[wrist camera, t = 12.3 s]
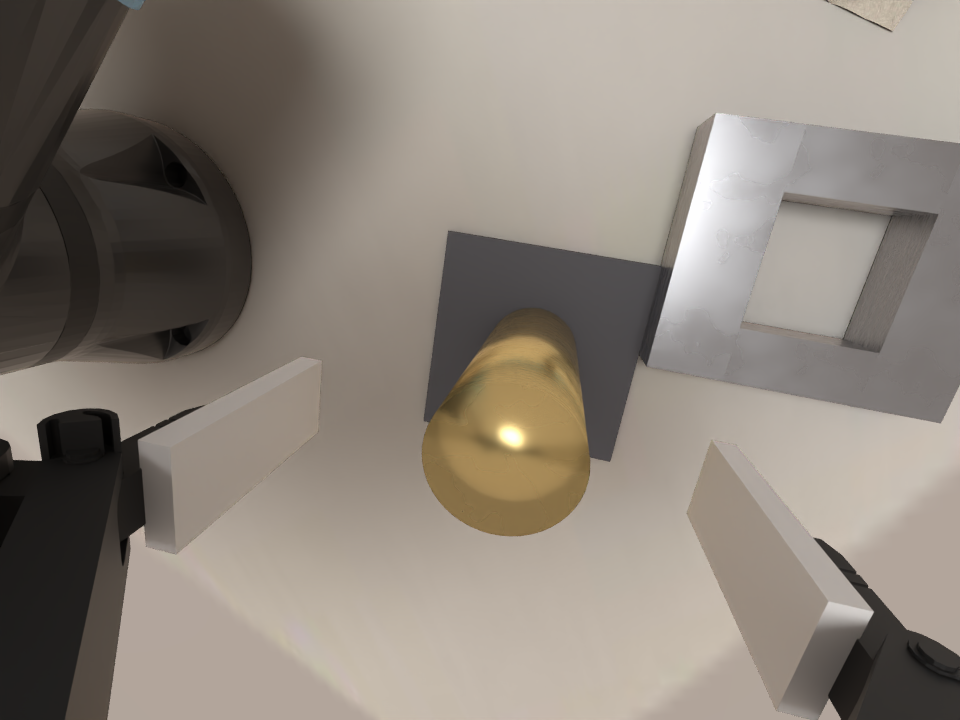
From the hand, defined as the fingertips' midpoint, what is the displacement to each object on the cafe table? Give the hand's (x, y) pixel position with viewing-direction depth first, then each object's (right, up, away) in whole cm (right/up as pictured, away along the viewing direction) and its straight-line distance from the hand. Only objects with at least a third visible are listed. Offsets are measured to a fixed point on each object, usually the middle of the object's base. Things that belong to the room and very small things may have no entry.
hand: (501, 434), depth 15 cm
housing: (+16, +7, +9) cm, 20 cm away
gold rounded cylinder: (+2, +3, +12) cm, 13 cm away
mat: (+2, +3, +12) cm, 13 cm away
